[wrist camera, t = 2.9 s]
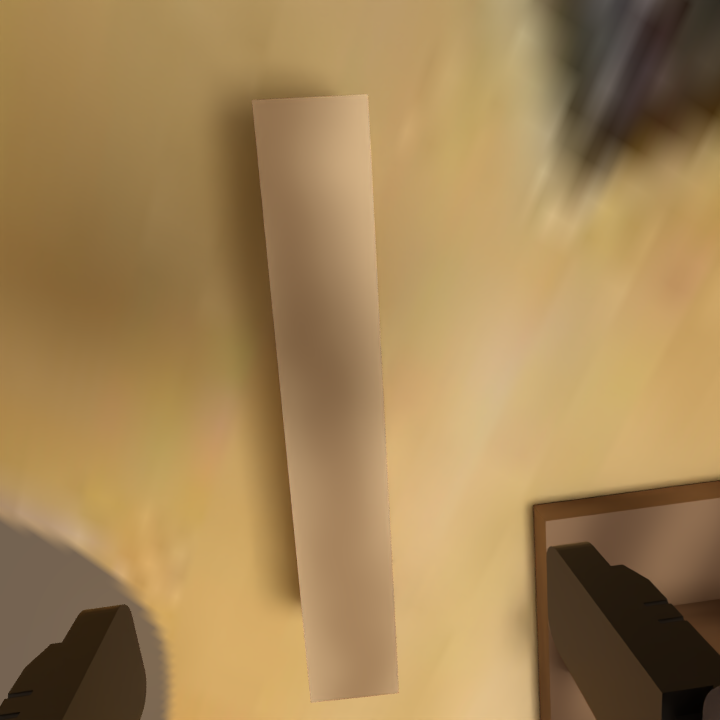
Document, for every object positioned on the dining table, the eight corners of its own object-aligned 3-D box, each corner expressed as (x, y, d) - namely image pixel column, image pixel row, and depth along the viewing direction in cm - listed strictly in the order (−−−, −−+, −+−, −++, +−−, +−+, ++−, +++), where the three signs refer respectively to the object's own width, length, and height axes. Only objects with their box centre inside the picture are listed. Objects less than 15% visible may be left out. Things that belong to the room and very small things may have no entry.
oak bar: (355, 126, 23) (367, 94, 17) (382, 596, 28) (399, 693, 23) (268, 130, 23) (251, 99, 17) (312, 602, 28) (310, 702, 22)
